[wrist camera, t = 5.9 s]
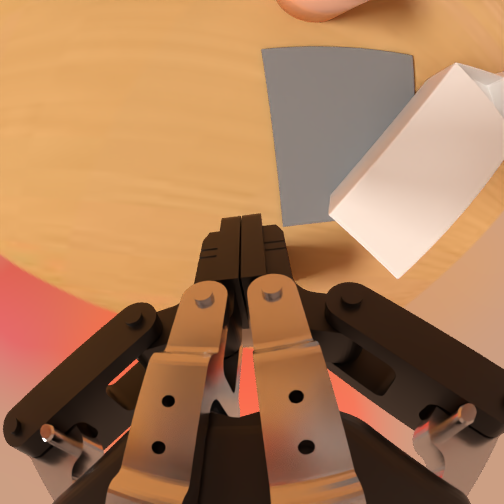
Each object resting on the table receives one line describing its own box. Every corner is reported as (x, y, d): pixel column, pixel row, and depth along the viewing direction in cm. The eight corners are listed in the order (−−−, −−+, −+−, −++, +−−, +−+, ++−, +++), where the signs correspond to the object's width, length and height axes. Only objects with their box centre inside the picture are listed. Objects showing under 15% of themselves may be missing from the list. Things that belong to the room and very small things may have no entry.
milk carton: (326, 216, 18) (476, 33, 8) (329, 195, 24) (445, 55, 14) (396, 282, 18) (535, 108, 8) (383, 245, 24) (495, 110, 15)
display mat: (261, 49, 16) (261, 49, 16) (410, 55, 15) (412, 55, 15) (282, 225, 26) (283, 226, 26) (404, 212, 25) (405, 213, 25)
